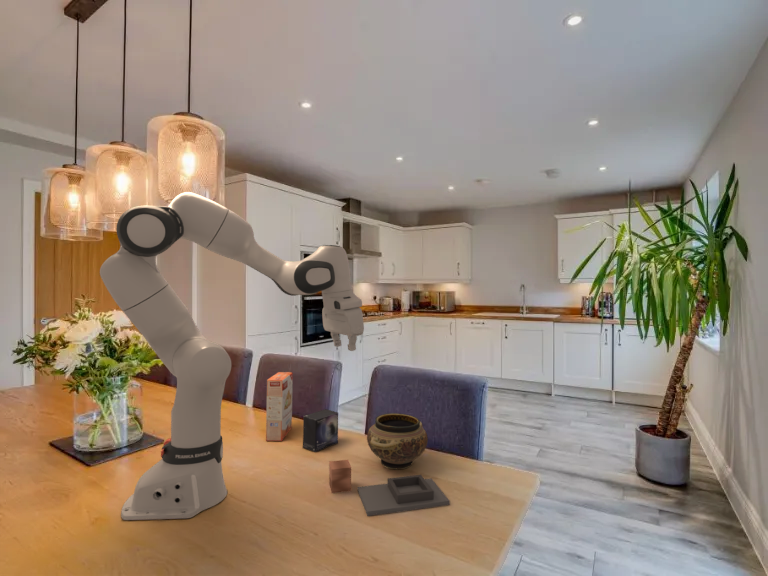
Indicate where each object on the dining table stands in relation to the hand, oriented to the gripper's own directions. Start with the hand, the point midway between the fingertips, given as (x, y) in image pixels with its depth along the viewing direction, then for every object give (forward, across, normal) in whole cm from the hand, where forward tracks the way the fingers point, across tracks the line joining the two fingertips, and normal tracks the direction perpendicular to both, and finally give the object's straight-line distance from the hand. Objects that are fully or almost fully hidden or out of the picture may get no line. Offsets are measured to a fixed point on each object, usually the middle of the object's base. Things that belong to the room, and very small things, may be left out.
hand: (344, 348), depth 119 cm
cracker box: (+33, -35, -13) cm, 50 cm away
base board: (+34, +24, -1) cm, 42 cm away
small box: (+34, -18, -5) cm, 39 cm away
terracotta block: (+33, +11, -12) cm, 37 cm away
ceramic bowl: (+36, +6, +9) cm, 38 cm away
